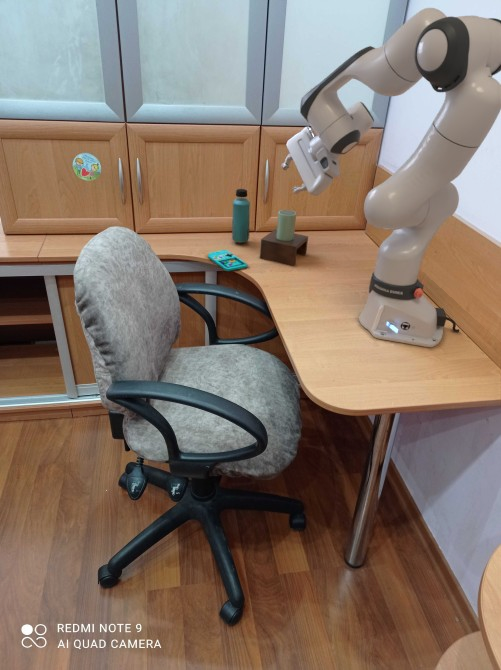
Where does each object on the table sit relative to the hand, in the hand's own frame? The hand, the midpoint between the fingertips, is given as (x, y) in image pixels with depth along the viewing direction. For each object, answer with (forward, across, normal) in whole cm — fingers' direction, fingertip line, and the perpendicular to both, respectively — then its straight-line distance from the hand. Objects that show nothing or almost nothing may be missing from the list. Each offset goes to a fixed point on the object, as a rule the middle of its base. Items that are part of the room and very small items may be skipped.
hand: (288, 179), depth 147 cm
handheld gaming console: (+34, +8, +1) cm, 35 cm away
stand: (+22, +10, +18) cm, 30 cm away
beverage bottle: (+35, -3, +16) cm, 38 cm away
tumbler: (+17, +6, +16) cm, 24 cm away
